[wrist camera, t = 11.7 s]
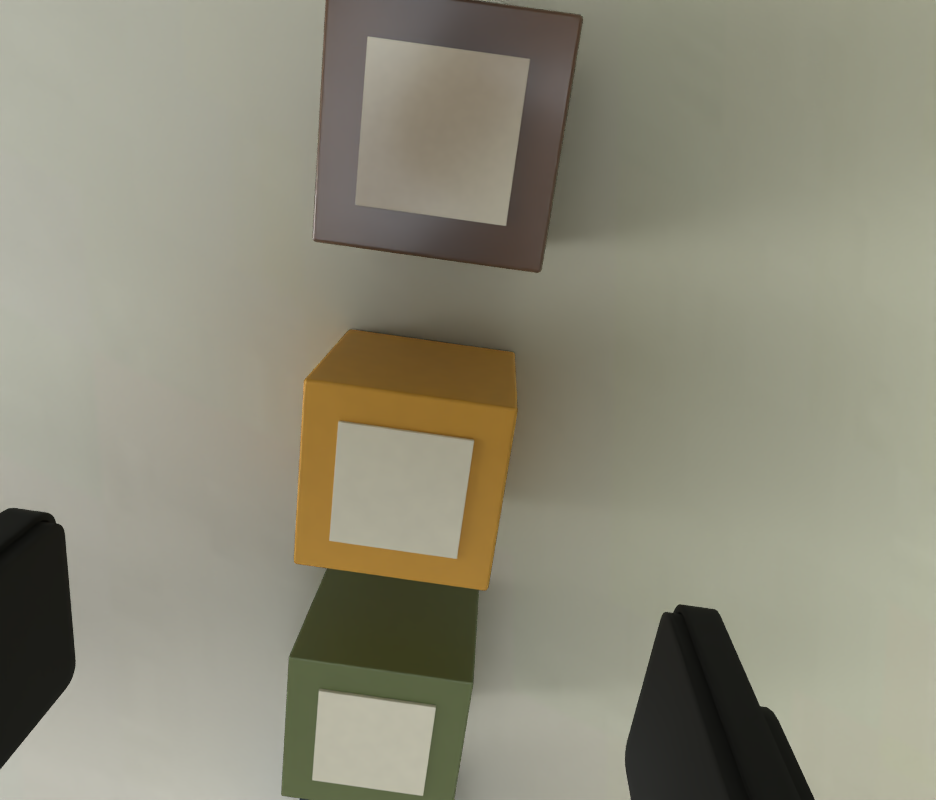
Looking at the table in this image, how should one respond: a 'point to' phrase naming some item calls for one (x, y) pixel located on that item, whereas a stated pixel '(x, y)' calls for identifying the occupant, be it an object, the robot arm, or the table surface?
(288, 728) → the olive block
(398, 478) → the ochre block
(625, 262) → the table surface
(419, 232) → the walnut block
